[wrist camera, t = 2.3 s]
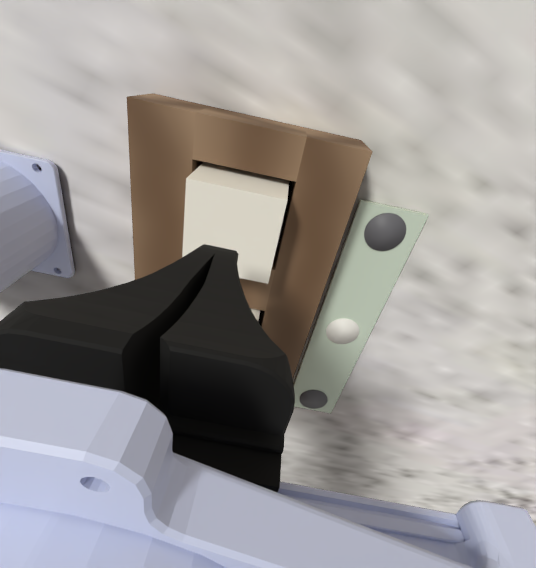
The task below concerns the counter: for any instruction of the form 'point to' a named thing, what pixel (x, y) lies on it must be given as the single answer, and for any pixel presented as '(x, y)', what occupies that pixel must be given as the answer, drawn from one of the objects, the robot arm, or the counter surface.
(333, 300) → the pattern card
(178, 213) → the brown flat rectangular frame
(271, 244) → the white square block
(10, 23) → the counter surface
